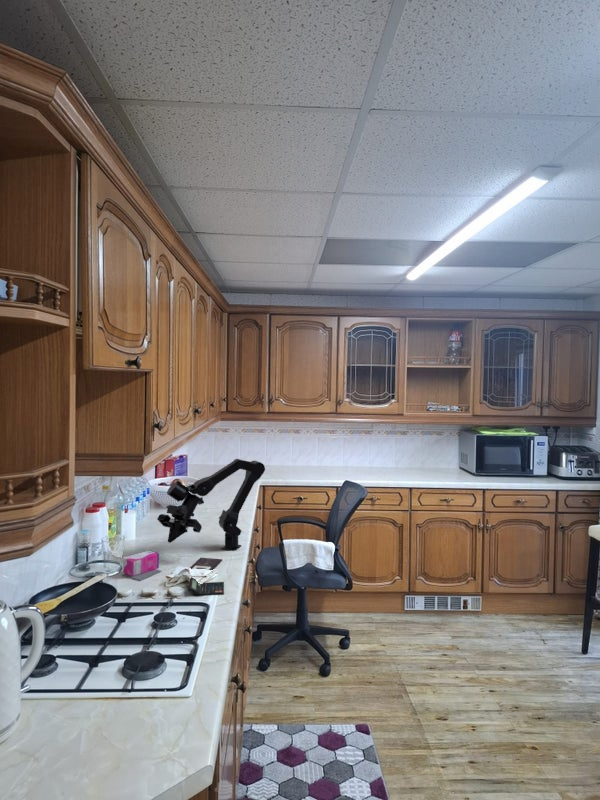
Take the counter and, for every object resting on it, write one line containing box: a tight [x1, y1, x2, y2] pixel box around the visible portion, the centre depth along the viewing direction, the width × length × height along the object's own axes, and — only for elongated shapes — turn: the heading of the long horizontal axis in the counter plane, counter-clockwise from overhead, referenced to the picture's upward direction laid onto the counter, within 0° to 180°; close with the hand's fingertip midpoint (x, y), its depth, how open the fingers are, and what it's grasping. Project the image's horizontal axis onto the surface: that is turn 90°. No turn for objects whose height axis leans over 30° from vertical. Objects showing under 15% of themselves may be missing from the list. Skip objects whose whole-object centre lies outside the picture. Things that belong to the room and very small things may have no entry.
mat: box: [121, 569, 162, 582], centre depth 176 cm, size 10×9×1 cm
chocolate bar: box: [189, 557, 223, 571], centre depth 183 cm, size 9×1×18 cm
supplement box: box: [122, 549, 160, 577], centre depth 178 cm, size 6×6×12 cm
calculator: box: [187, 576, 225, 597], centre depth 163 cm, size 9×12×3 cm
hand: (169, 542), depth 188 cm, fingers closed
